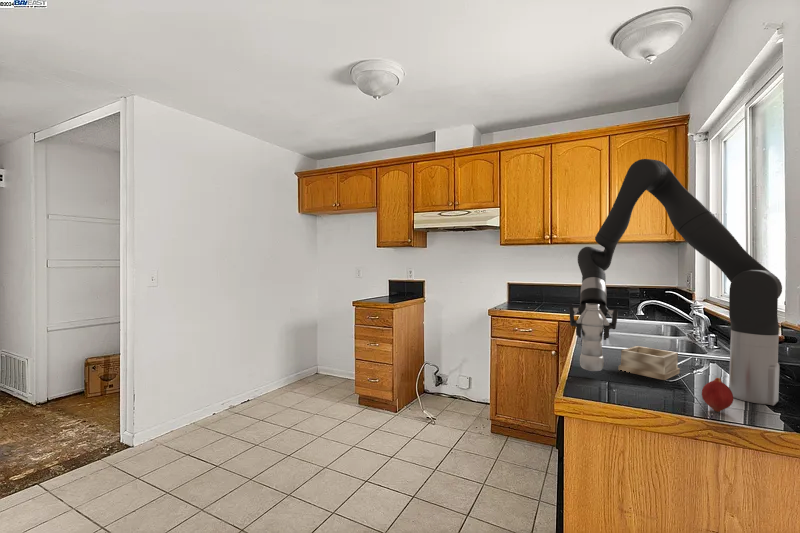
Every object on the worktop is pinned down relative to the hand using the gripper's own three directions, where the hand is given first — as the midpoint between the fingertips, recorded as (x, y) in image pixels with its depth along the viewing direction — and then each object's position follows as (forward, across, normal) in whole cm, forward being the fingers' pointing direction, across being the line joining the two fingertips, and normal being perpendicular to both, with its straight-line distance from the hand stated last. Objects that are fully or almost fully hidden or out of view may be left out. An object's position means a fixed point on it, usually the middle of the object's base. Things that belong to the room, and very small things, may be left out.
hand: (592, 337), depth 117 cm
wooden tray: (-4, +16, +22) cm, 27 cm away
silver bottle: (+6, 0, +9) cm, 11 cm away
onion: (+19, +27, -1) cm, 33 cm away
